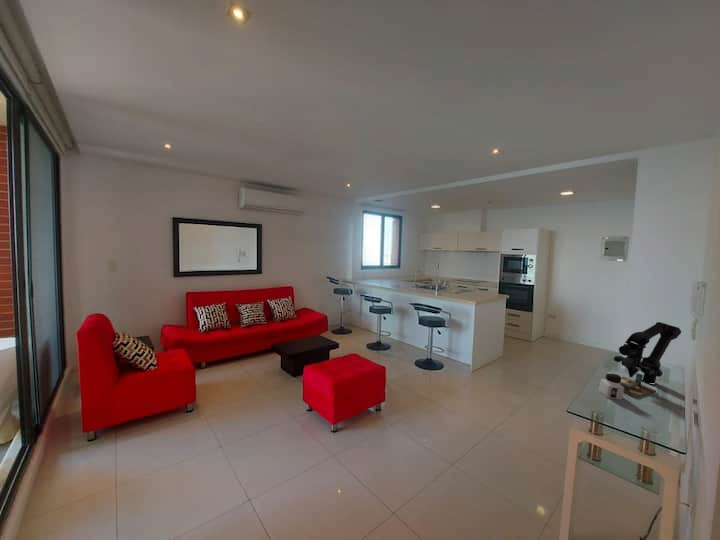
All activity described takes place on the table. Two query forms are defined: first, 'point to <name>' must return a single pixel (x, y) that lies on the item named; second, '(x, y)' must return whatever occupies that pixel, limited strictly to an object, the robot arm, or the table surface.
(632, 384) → the capstan
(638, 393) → the stand
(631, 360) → the robot arm
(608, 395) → the container
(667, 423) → the table surface
